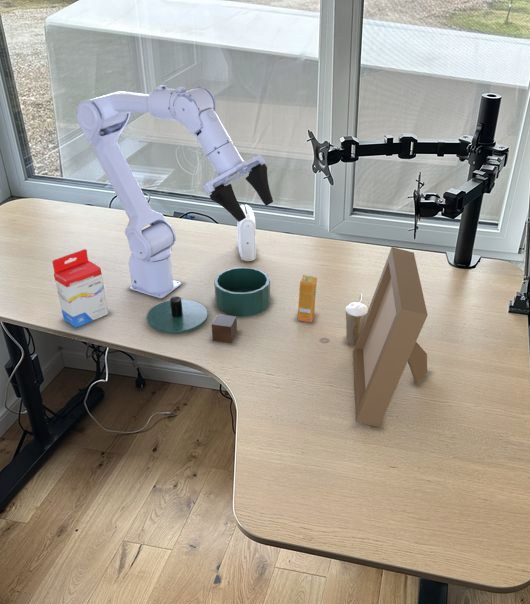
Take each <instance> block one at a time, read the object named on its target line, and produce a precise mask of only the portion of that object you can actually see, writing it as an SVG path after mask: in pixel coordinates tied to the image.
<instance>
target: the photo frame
mask: <svg viewBox="0 0 530 604" xmlns="http://www.w3.org/2000/svg"><path fill="white" fill-rule="evenodd" d="M425 301H426V300H425V297H424V292H423V288H422V283H421V277H420V273H419V269H418V265H417V260H416V256H415V252H414V251H409V250H405V249H401V248H398V247H394V246H391V247H390V250H389V252H388V255H387V258H386V261H385V263H384V266H383V269H382V271H381V274H380V277H379V280H378V282H377V285H376V287H375V290H374V294H373V296H372V299H371V301H370V304H369V307H368V312H367V315H366V317H365V320H364V323H363V325H362V328H361V331H360V333H359V336H358V339H357V342H356V344H355V345H354V346H353V350H352V363H353V388H354V410H355V411H354V414H355V422H356V423H359V424H364V425H369V426H373V427H378V428H379V427H380V425H381V423H382V421H383V419H384V417H385V415H386V412H387V409H388V408H389V405H390V403H391V400H392V398H393V396H394V394H395V391H396V389H397V387H398V384H399V382H400V380H401V378H402V376H403V373H404V371H405V368H406V366H407V364H408V366H409V369H410V372H411V375H412V378H413V380H414V384H418V383H420V382H421V381H422V379H423V378H425V376H426V375H427V374H428V354H427V352H426V351H425V350H424V349H423V348H422V347H421V346H420V344H419V343H418V342H417V341H418V339H419V336H420V334H421V332H422V329H423V327H424V325H425V322H426V320H427V318H428V310H427V306H426V302H425Z"/></svg>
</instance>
